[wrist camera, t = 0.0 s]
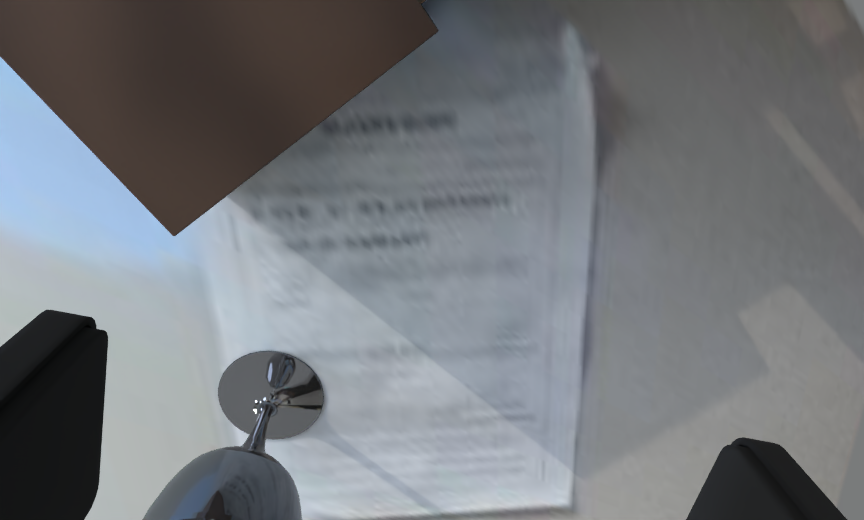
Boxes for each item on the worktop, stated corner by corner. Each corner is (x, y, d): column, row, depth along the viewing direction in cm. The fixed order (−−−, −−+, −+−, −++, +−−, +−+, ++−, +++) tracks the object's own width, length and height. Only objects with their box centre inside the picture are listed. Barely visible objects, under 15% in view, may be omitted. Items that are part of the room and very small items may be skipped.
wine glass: (353, 403, 43) (331, 591, 29) (268, 462, 44) (207, 667, 30) (274, 323, 40) (208, 487, 26) (187, 389, 42) (80, 577, 28)
